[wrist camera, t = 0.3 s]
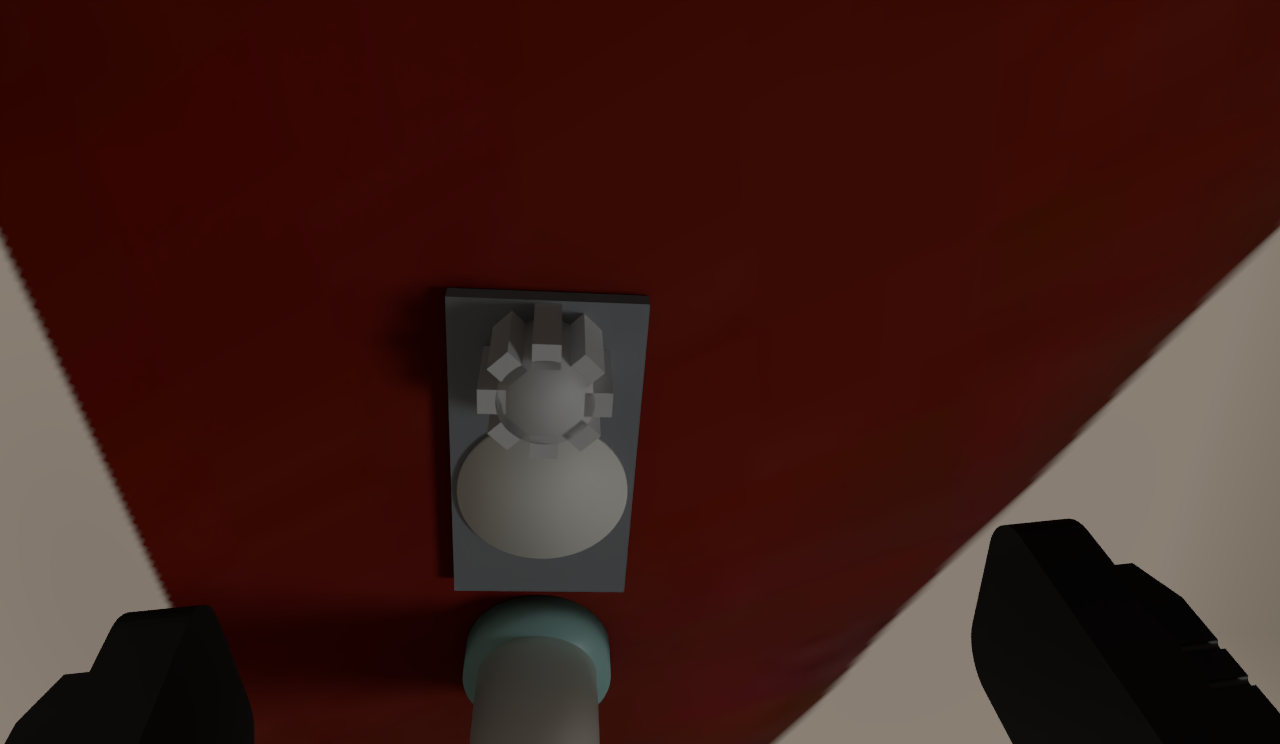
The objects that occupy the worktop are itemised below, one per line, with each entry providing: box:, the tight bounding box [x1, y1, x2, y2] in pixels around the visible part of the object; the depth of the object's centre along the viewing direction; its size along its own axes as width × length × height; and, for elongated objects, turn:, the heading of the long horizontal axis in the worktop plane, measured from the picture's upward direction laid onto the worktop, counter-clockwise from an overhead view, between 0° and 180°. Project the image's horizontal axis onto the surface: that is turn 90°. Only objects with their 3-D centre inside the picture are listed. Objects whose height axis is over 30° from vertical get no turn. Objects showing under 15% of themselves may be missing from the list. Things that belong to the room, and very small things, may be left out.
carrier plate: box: [445, 288, 650, 592], centre depth 29 cm, size 12×6×3 cm, turn 175°
